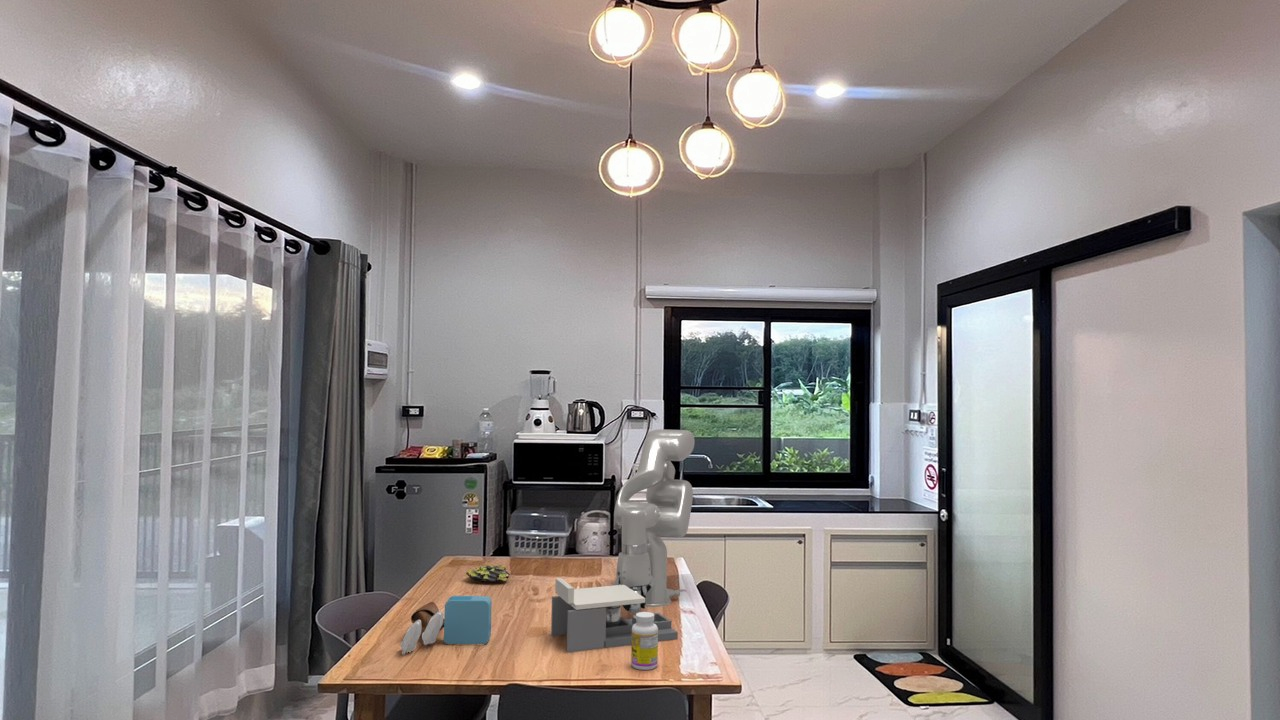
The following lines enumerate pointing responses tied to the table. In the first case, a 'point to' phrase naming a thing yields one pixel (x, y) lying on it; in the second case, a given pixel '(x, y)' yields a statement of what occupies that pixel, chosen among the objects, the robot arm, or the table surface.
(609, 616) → the glass spice jar
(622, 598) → the lid
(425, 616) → the sunglasses case
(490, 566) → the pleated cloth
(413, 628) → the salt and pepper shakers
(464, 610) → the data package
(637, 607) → the silver metal shaker
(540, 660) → the table surface
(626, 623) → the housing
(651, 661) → the supplement bottle
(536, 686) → the table surface
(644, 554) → the robot arm
